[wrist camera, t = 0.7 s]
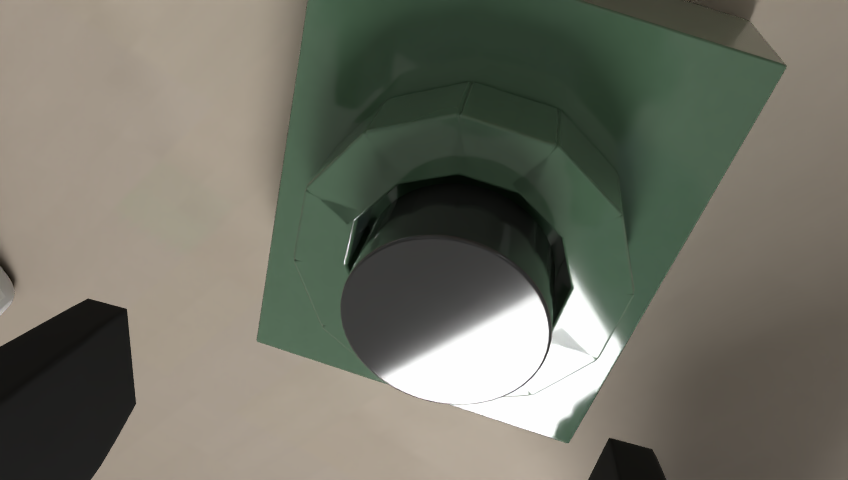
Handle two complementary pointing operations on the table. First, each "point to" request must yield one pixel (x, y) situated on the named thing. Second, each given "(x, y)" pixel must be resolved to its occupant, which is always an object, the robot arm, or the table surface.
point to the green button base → (513, 157)
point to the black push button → (452, 295)
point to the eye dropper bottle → (5, 291)
